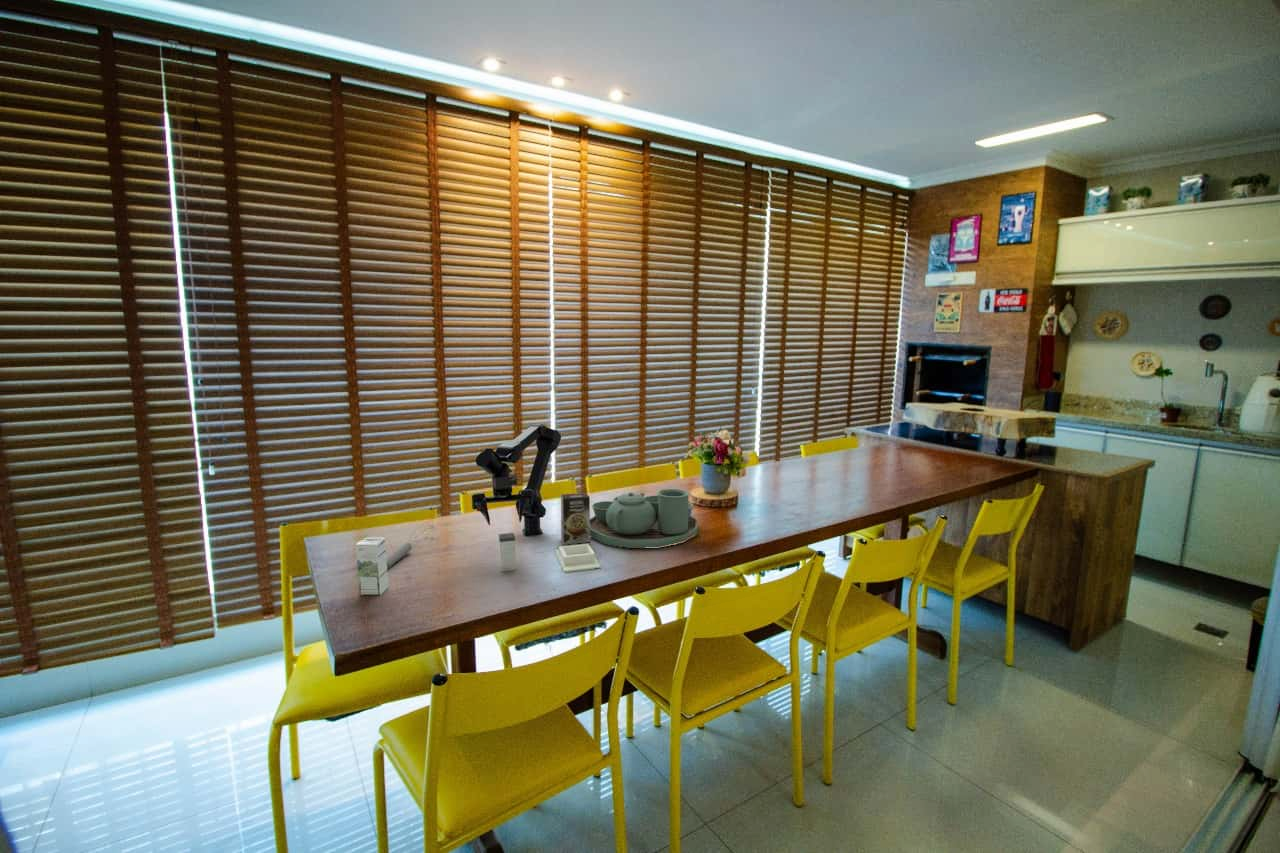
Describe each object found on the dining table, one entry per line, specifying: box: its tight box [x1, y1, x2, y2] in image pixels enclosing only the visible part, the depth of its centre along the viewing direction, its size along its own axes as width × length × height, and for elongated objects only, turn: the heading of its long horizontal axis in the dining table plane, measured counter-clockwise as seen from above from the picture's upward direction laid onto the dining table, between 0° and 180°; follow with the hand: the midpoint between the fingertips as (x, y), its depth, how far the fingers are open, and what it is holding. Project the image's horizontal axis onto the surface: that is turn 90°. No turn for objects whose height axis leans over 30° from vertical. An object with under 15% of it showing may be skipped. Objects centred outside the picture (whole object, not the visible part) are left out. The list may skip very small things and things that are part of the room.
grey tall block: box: [498, 532, 517, 572], centre depth 170 cm, size 4×4×10 cm
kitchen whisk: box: [386, 521, 438, 570], centre depth 183 cm, size 6×34×6 cm, turn 174°
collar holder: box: [554, 543, 602, 574], centre depth 176 cm, size 18×11×3 cm, turn 17°
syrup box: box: [355, 537, 389, 596], centre depth 153 cm, size 6×6×14 cm
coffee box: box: [560, 492, 591, 546], centre depth 192 cm, size 9×6×16 cm
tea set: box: [590, 488, 698, 549], centre depth 204 cm, size 40×40×16 cm
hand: (504, 523), depth 173 cm, fingers open, 9 cm apart
